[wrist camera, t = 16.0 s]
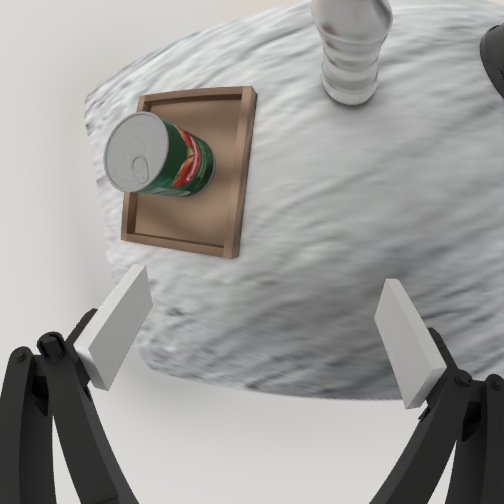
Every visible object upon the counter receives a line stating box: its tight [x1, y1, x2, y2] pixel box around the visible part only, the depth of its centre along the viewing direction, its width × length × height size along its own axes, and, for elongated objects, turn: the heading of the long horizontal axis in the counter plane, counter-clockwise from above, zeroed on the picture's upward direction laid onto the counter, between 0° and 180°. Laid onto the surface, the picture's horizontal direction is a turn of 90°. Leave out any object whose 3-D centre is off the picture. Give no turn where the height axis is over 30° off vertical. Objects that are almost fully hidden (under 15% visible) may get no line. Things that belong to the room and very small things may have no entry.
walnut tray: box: [121, 86, 257, 259], centre depth 34 cm, size 20×16×2 cm
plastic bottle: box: [311, 0, 393, 105], centre depth 20 cm, size 6×7×20 cm
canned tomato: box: [104, 112, 215, 198], centre depth 30 cm, size 8×8×11 cm
